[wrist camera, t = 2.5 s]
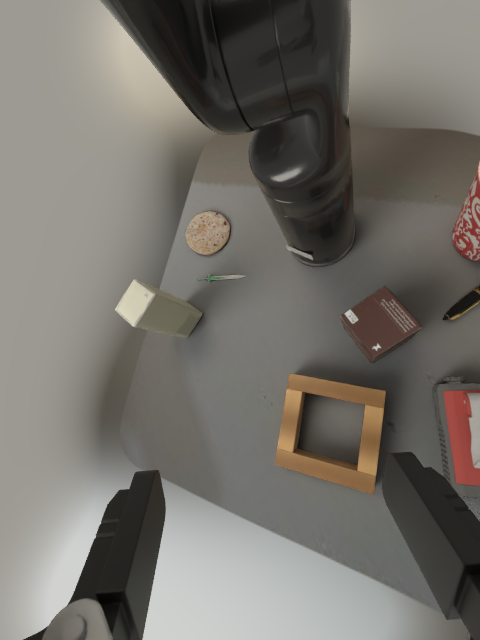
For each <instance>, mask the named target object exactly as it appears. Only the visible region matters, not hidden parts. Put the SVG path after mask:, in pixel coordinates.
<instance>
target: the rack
mask: <svg viewBox="0 0 480 640" xmlns="http://www.w3.org/2000/svg"><path fill="white" fill-rule="evenodd" d="M306 392H307V393H311V394H316V395H321V396H326V397H331V398H336V399H340V400H345V401H350V402H355V403H360V404H365V409H364V417H363V425H362V433H361V441H360V449H359V457H358V465H355V464H352V463H348V462H344V461H341V460H337V459H333V458H330V457H326V456H323V455H319V454H315V453H312V452H308V451H304V450H301V449H297V447H298V440H299V434H300V427H301V421H302V414H303V408H304V401H305V394H306ZM385 397H386V391H383V390H377V389H372V388H367V387H361V386H356V385H351V384H345V383H340V382H335V381H329V380H324V379H319V378H313V377H308V376H303V375H297V374H292V373H290V374H289V380H288V386H287V392H286V398H285V404H284V411H283V417H282V423H281V429H280V435H279V441H278V449H277V454H276V460H275V465H278V466H281V467H284V468H287V469H291V470H294V471H297V472H301V473H304V474H307V475H311V476H314V477H317V478H320V479H324V480H327V481H330V482H334V483H337V484H340V485H343V486H347V487H350V488H353V489H357V490H360V491H363V492H366V493H370V494H374V490H375V481H376V473H377V464H378V456H379V448H380V439H381V431H382V422H383V414H384V405H385Z"/></svg>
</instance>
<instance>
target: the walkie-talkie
mask: <svg viewBox="0 0 480 640" xmlns="http://www.w3.org/2000/svg"><path fill="white" fill-rule="evenodd" d="M442 379H443V382H446V384H435V385H434V386H433V398H434V402H435V413H436V418H437V424H438V426H439V429H438V431H439V433H440V434H439V436H440V441H441V444H440V446H441V448H442V449H441V451H442V457H443V459H442V461H443V462H444V464H443V466H444V472H445V475H444V476H445V478H446V479H447V481H448V482H449V483H450V484H451V486H452V487H453V488H454V490H455V491H456V492H457V493H458V495H461V496H467V497H478V498H480V384H477V383H470V384H463V383H462V382H464V381H465V380H464V377H443V378H442Z"/></svg>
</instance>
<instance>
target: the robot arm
mask: <svg viewBox="0 0 480 640" xmlns="http://www.w3.org/2000/svg"><path fill="white" fill-rule="evenodd" d="M100 1H101V2H102V3H103V4H104V5H105V7H106V8H107V9H108V10H109V11H110V13H111V14H112V15H113V16H114V17H115V19H116V20H117V21H118V22H119V23H120V25H121V26H122V27H123V28H124V29H125V31H126V32H127V33H128V34H129V36H130V37H131V38H132V39H133V40H134V42H135V43H136V44H137V45H138V46H139V48H140V49H141V50H142V51H143V53H144V54H145V55H146V56H147V58H148V59H149V60H150V61H151V63H152V64H153V65H154V66H155V68H156V69H157V70H158V71H159V73H160V74H161V75H162V76H163V78H164V79H165V80H166V81H167V83H168V84H169V85H170V87H171V88H172V89H173V90H174V92H175V93H176V94H177V95H178V97H179V98H180V99H181V100H182V101H183V102H184V104H185V105H186V106H187V107H188V109H189V110H190V111H191V112H192V113H193V114H194V115H195V116H196V117H197V119H199V120H200V121H201V122H202V123H203V124H204V125H205V126H207V127H208V128H209V129H211V130H212V131H214V132H216V133H218V134H222V135H239V134H244V133H248V132H251V131H254V130H255V131H254V133H253V135H252V138H251V142H250V146H249V163H250V167H251V170H252V173H253V175H254V177H255V179H256V181H257V183H258V185H259V187H260V189H261V191H262V193H263V195H264V197H265V199H266V201H267V203H268V205H269V206H270V208H271V210H272V212H273V214H274V216H275V218H276V220H277V222H278V224H279V226H280V228H281V230H282V232H283V234H284V236H285V238H286V240H287V242H288V245H289V246H286V247H287V249H288V250H290V251H291V252H292V254H293V255H294V257H295V258H296V259H297V260H298V261H300V262H301V263H303V264H305V265H308V266H312V267H324V266H328V265H331V264H334V263H336V262H337V261H339V260H341V259H342V258H343V257H344V256H345V255H346V254H347V253H348V252H349V250H350V249H351V247H352V245H353V242H354V238H355V226H354V210H353V183H352V161H351V138H350V125H349V65H350V38H351V0H100ZM382 490H383V495H384V499H385V502H386V504H387V506H388V508H389V510H390V512H391V514H392V516H393V518H394V520H395V522H396V524H397V525H398V527H399V529H400V531H401V533H402V535H403V537H404V539H405V541H406V543H407V545H408V547H409V549H410V550H411V552H412V554H413V556H414V558H415V560H416V562H417V564H418V566H419V568H420V570H421V572H422V573H423V575H424V577H425V579H426V581H427V583H428V585H429V587H430V589H431V591H432V593H433V595H434V596H435V598H436V600H437V602H438V604H439V606H440V608H441V610H442V612H443V614H444V616H445V618H446V619H447V620H450V619H462V621H463V622H464V624H465V626H466V628H467V629H468V633H467V640H480V522H479V520H478V519H477V518H476V517H475V515H474V514H473V513H472V511H471V510H469V509H468V506H467V505H466V504H465V502H464V501H463V500H462V499H461V497H459V496H458V493H457V492H456V491H455V490H454V488H453V487H452V486H451V484H450V483H449V482H448V481H447V479H445V478H444V477H443V476H441V475H440V474H439V473H438V472H436V471H435V470H434V469H432V468H431V467H427V468H424V467H423V466H422V464H421V463H420V462H419V460H418V459H417V458H416V456H415V455H414V454H413V453H411V452H403V453H389V454H388V455H387V457H386V463H385V470H384V477H383V483H382ZM165 509H166V508H165V498H164V493H163V488H162V483H161V478H160V473H159V471H158V470H152V471H140V472H136V473H135V474H134V477H133V480H132V483H131V486H130V489H126V490H119V491H118V492H117V494H116V495H115V496H114V497H113V499H112V500H111V501H110V502H109V504H108V505H107V508H106V510H105V513H104V515H103V518H102V521H101V525H100V526H99V529H98V531H97V534H96V538H95V539H94V542H93V544H92V547H91V550H90V552H89V555H88V557H87V560H86V563H85V565H84V568H83V570H82V573H81V576H80V578H79V581H78V583H77V586H76V589H75V591H74V594H73V596H72V598H71V600H70V602H69V603H68V605H67V606H66V607H65V608H64V609H62V610H61V611H60V612H59V613H58V614H57V615H56V616H55V618H54V619H53V620H52V621H51V623H50V624H49V626H48V627H46V628H45V629H43V630H42V631H40V632H38V633H37V634H35V635H32V636H30V637H28V638H26V639H24V640H142V638H143V633H144V628H145V622H146V617H147V611H148V606H149V601H150V596H151V590H152V585H153V580H154V575H155V569H156V564H157V559H158V553H159V548H160V542H161V537H162V532H163V526H164V521H165Z"/></svg>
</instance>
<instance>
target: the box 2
mask: <svg viewBox="0 0 480 640" xmlns="http://www.w3.org/2000/svg"><path fill="white" fill-rule="evenodd" d="M340 317H341V320H342V323H343V325H344V329H345V330H346V331H347V333H348V334H349V335H350V336H351V338H352V339H353V340H354V342H355V343H356V345H357V346H358V347H359V348H360V350H361V351H362V352H363V353H364V355H365V356H366V357H367V358H368V360H369V361H370V362H371V363H374V362H375V361H377V360H378V359H380V358H382V357H383V356H385V355H386V354H388V353H390V352H391V351H393V350H394V349H396V348H397V347H399V346H400V345H402V344H403V343H405V342H406V341H408V340H409V339H411V338H412V337H413V336H414V335H415V334H416V333H417V332H418V331H419V330H420V329H421V326H420V324H419V323H418V322H417V321H416V319H415V318H414V317H413V316H412V315H411V314H410V313H409V311H408V310H407V309H406V308H405V307H404V306H403V305H402V304H401V302H400V301H399V300H398V299H397V298H396V297H395V296H394V295H393V293H392V292H391V291H390V290H389V289H388V288H387V287H386V286H384V287H382V288H381V289H379V290H378V291H376V292H375V293H373V294H372V295H370V296H369V297H367V298H366V299H364V300H363V301H361V302H360V303H359V304H357V305H356V306H354V307H353V308H351V309H350V310H348V311H347V312H345V313H344V314H342V315H341V316H340Z"/></svg>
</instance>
